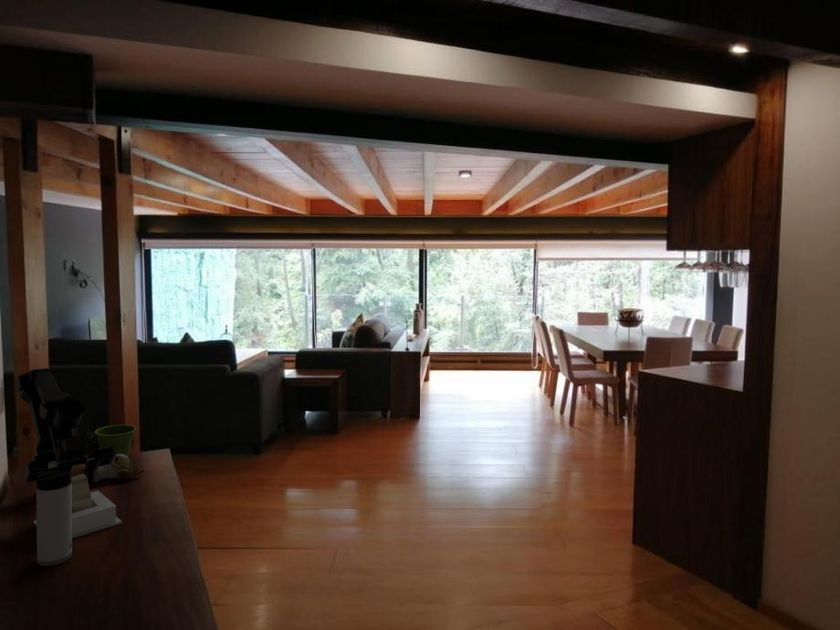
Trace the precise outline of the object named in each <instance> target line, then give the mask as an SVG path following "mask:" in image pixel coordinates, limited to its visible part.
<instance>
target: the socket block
mask: <svg viewBox="0 0 840 630" xmlns="http://www.w3.org/2000/svg"><path fill="white" fill-rule="evenodd" d="M90 494H91V499H92V504H93V507H92V508H89V509H85V510H81V511H78V512H74V513H72V539H74V538H79V537H81V536H84V535H88V534H91V533H94V532H98V531H101V530H104V529H107V528H111V527H114V526H117V525H118V526H119V525H121V524H122V523H123V521H122V520H121V519H120V518H119V517H117V505H116V504H114V503H113V502H112V501H111V500H110V499H109V498H108V497H106V496H105V495H104V494H103V493H101V491H100V490H95V491H92V492H91V491H90ZM33 524H34V526H35V527H36V528H37V519H36V520H33Z"/></svg>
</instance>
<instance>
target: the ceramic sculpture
mask: <svg viewBox="0 0 840 630" xmlns="http://www.w3.org/2000/svg"><path fill="white" fill-rule="evenodd" d="M130 461H131V459H130V458H128V457H127V456H126V455H124V454H116V455H115V457H114V458H113V460H112V462H111V464H109V465H105V466H100V467H98V468H97V470H95V471H94V475H93V482H92V483H99V482H100V481H101V480H105V479H110V480H112V479H113V480H114V479H116V480H117V479H120V478H131V477H135V476H137V475H140V474H142V473H143V472H145V470H144V469H143V470H142V469H138V468H136V467H134V466H135V464H137V463H138V461H137V460H134V461H133V462H130Z"/></svg>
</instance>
